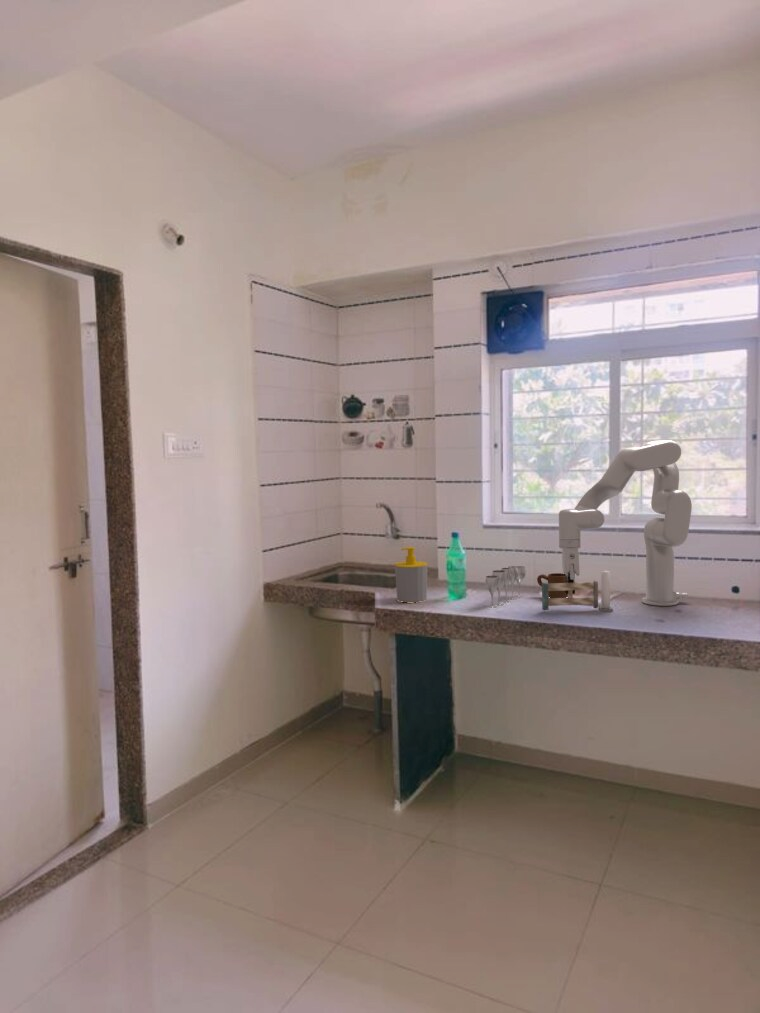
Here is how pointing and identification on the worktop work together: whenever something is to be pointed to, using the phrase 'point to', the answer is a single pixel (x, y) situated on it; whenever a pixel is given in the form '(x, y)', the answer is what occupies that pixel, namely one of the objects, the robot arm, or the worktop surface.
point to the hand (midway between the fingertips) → (570, 593)
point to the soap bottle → (411, 578)
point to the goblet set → (505, 581)
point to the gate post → (605, 592)
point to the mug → (554, 579)
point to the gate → (569, 594)
